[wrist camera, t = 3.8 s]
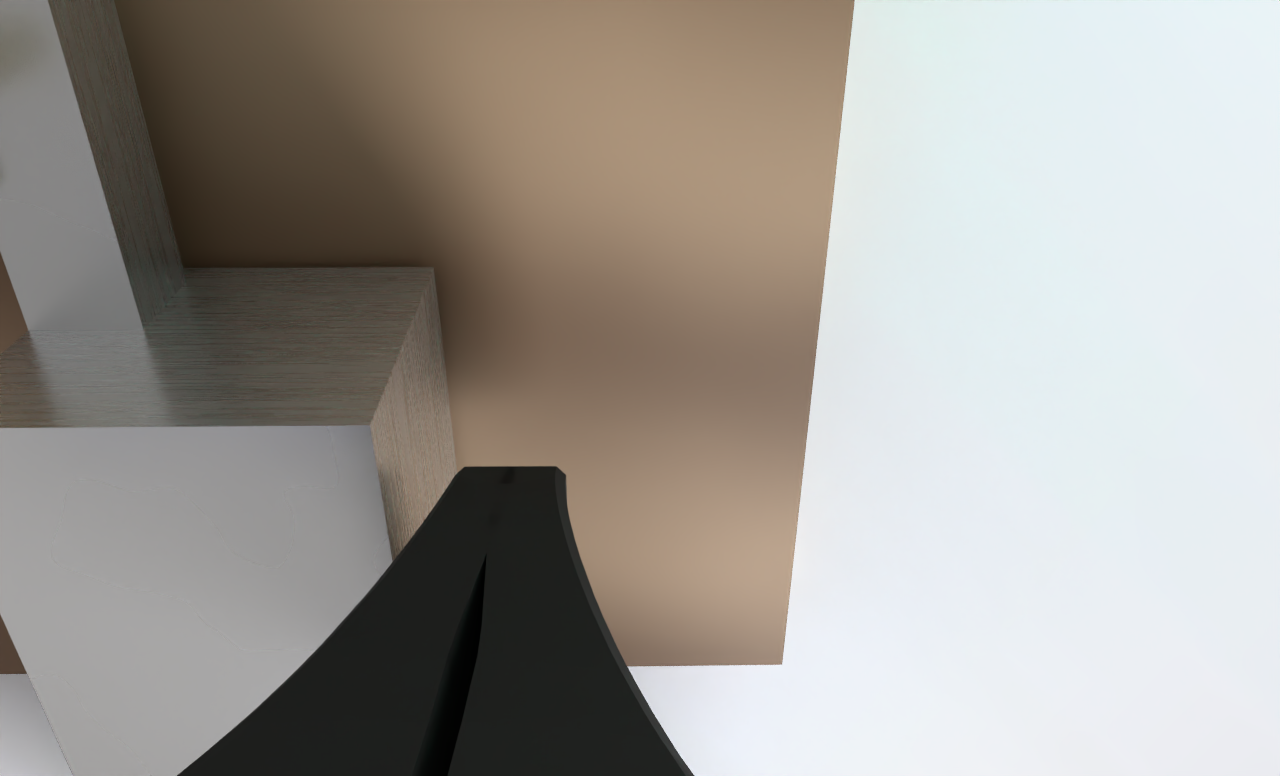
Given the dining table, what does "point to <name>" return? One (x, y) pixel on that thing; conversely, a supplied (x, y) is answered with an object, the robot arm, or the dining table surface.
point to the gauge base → (549, 248)
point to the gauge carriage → (182, 426)
